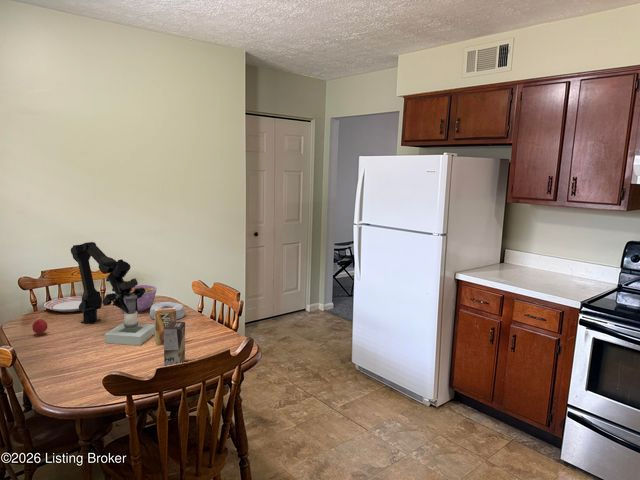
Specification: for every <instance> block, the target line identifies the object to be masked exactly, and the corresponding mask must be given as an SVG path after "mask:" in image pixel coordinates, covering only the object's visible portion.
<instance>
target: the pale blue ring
mask: <svg viewBox="0 0 640 480" xmlns="http://www.w3.org/2000/svg"><path fill="white" fill-rule="evenodd" d="M174 307H175V309H176V320H179V319H181V318H184V316H185V314H186V313H185V308H184V306H183V304H181V303H177V302H171V301H163V302H161V301H160V302H155V303H153V304H152V305H151V306H150V307H149V308H150V309H149V311H150V312H149V314H150V317H151V318H152V319H153V320H155V309H162V308H174Z"/></svg>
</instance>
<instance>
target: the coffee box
mask: <svg viewBox="0 0 640 480" xmlns="http://www.w3.org/2000/svg"><path fill="white" fill-rule="evenodd" d="M184 359H185V360H186V321H176V322H169V324H168V325H167V326H166V327H165V328H164V343H163V367H164V366H167V365H172V364H177V363H181V362H183V363H184V362H185V360H184Z"/></svg>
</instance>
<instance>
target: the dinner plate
mask: <svg viewBox="0 0 640 480" xmlns="http://www.w3.org/2000/svg"><path fill="white" fill-rule="evenodd" d="M81 302H82V295H81V296H78V295H77V296H68V297H62V298H61V297H60V298H56V299H52V300H49V301H47V302H45V303H43V304H44V305H43V306H44V308H45V309H48V310H50V311H55V312H60V313H74V312H81V311H80V310H79V305H80V303H81Z"/></svg>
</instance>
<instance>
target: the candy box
mask: <svg viewBox="0 0 640 480" xmlns="http://www.w3.org/2000/svg"><path fill="white" fill-rule="evenodd" d="M169 322H177V319H176V309H175V307H174V308H162V309H155V319H154V325H155V334H154V342H155V345H161V344H164V328H165V327H166V326H167V325H168V324H169Z"/></svg>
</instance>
